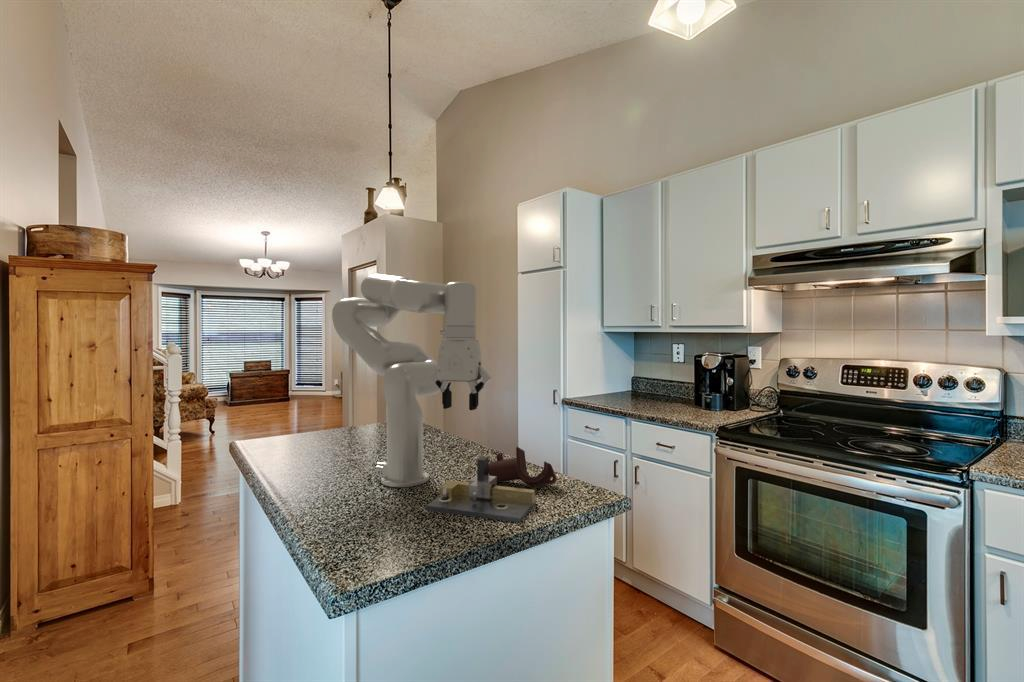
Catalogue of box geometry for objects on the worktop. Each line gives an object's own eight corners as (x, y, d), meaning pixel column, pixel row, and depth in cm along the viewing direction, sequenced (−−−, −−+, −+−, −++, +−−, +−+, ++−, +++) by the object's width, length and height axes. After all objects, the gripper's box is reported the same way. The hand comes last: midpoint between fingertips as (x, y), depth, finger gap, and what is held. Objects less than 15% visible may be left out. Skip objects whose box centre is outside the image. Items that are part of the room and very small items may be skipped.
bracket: (554, 481, 117) (549, 441, 121) (489, 490, 121) (486, 451, 125) (559, 484, 123) (553, 445, 127) (496, 492, 126) (493, 455, 130)
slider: (463, 501, 107) (463, 463, 107) (477, 490, 115) (477, 454, 115) (483, 503, 106) (483, 465, 105) (496, 492, 113) (496, 456, 113)
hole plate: (426, 510, 105) (426, 504, 105) (450, 493, 117) (450, 488, 117) (520, 523, 98) (520, 517, 98) (536, 503, 110) (536, 498, 110)
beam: (436, 498, 110) (436, 488, 110) (448, 490, 116) (448, 480, 116) (526, 510, 102) (526, 499, 102) (534, 500, 109) (534, 490, 109)
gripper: (420, 333, 113) (420, 409, 113) (488, 334, 107) (487, 413, 107) (435, 333, 120) (435, 404, 120) (499, 334, 114) (499, 408, 114)
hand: (460, 408), depth 113 cm, fingers open, 6 cm apart
